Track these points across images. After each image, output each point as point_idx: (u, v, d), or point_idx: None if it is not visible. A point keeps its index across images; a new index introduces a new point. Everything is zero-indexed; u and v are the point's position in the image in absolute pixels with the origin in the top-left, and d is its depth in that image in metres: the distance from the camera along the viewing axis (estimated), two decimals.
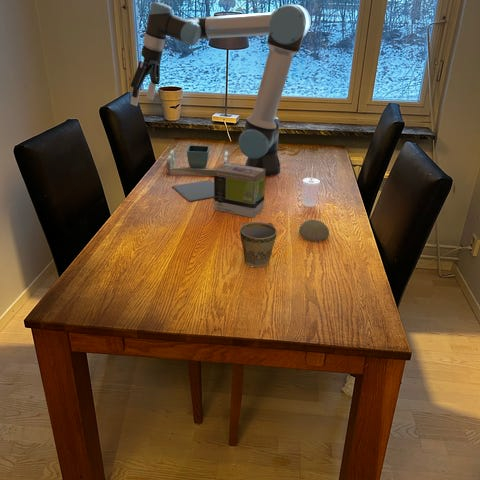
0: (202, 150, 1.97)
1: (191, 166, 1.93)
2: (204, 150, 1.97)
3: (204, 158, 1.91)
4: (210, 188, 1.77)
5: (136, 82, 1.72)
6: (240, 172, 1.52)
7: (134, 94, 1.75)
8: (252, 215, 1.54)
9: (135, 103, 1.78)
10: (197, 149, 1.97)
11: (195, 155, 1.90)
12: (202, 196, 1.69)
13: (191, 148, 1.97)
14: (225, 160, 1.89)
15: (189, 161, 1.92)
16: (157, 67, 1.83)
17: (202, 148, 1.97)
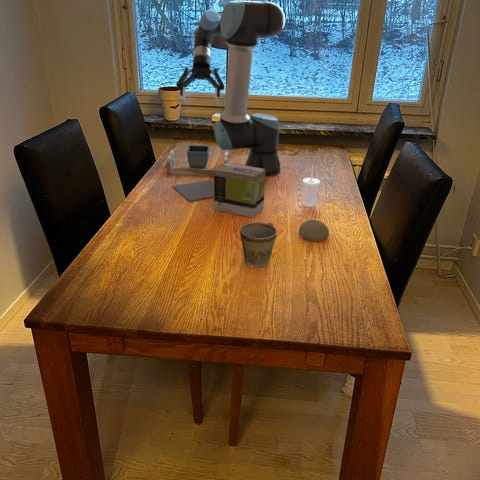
0: (202, 150, 1.97)
1: (191, 166, 1.93)
2: (204, 150, 1.97)
3: (204, 158, 1.91)
4: (210, 188, 1.77)
5: None
6: (240, 172, 1.52)
7: (180, 92, 1.95)
8: (252, 215, 1.54)
9: (182, 99, 1.94)
10: (197, 149, 1.97)
11: (195, 155, 1.90)
12: (202, 196, 1.69)
13: (191, 148, 1.97)
14: (225, 160, 1.89)
15: (189, 161, 1.92)
16: (215, 74, 1.98)
17: (202, 148, 1.97)
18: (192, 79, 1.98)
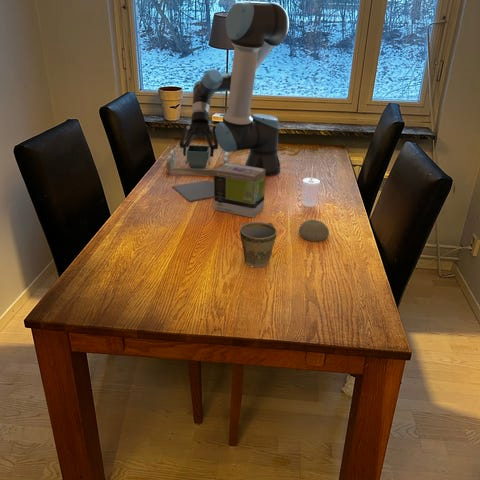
0: (202, 150, 1.97)
1: (191, 166, 1.93)
2: (204, 150, 1.97)
3: (204, 158, 1.91)
4: (210, 188, 1.77)
5: None
6: (240, 172, 1.52)
7: (183, 152, 1.94)
8: (252, 215, 1.54)
9: (185, 159, 1.92)
10: (197, 149, 1.97)
11: (195, 155, 1.90)
12: (202, 196, 1.69)
13: (191, 148, 1.97)
14: (225, 160, 1.89)
15: (189, 161, 1.92)
16: (212, 132, 1.96)
17: (202, 148, 1.97)
18: (193, 136, 1.96)
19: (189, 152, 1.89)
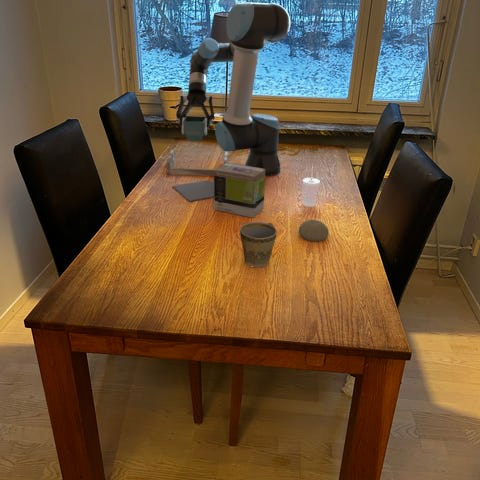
0: (199, 121, 1.98)
1: (188, 137, 1.94)
2: (201, 121, 1.98)
3: (200, 128, 1.91)
4: (210, 188, 1.77)
5: None
6: (240, 172, 1.52)
7: None
8: (252, 215, 1.54)
9: None
10: (194, 120, 1.98)
11: (191, 125, 1.91)
12: (202, 196, 1.69)
13: (188, 119, 1.98)
14: (225, 160, 1.89)
15: (185, 131, 1.92)
16: (209, 102, 1.96)
17: (199, 119, 1.97)
18: (189, 107, 1.97)
19: (185, 122, 1.90)
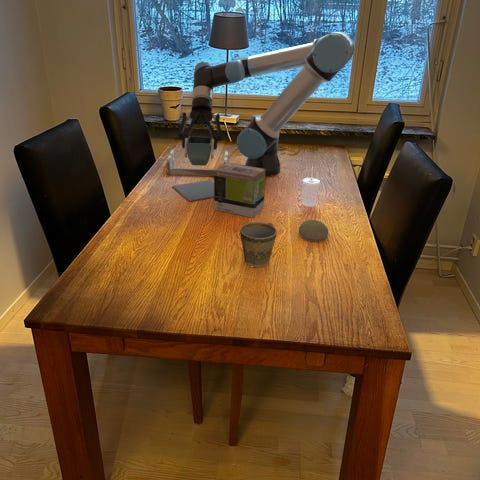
0: (204, 142, 1.70)
1: (191, 160, 1.66)
2: (207, 142, 1.70)
3: (206, 151, 1.64)
4: (210, 188, 1.77)
5: None
6: (240, 172, 1.52)
7: (182, 144, 1.67)
8: (252, 215, 1.54)
9: None
10: (198, 140, 1.70)
11: (196, 148, 1.63)
12: (202, 196, 1.69)
13: (191, 139, 1.70)
14: (225, 160, 1.89)
15: (189, 154, 1.65)
16: None
17: (204, 140, 1.70)
18: (193, 126, 1.69)
19: (189, 144, 1.63)
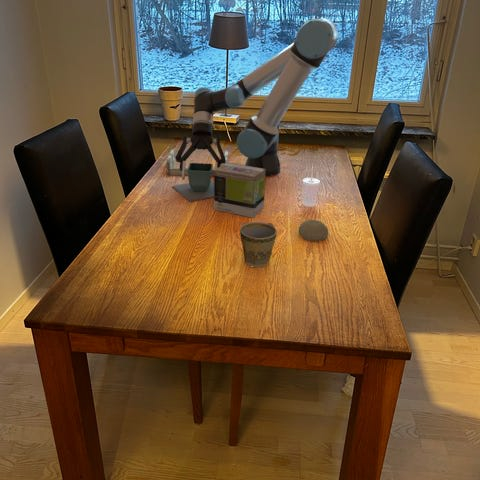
0: (204, 168, 1.75)
1: (192, 187, 1.71)
2: (207, 168, 1.75)
3: (207, 178, 1.69)
4: (210, 188, 1.77)
5: None
6: (240, 172, 1.52)
7: None
8: (252, 215, 1.54)
9: (182, 175, 1.70)
10: (199, 167, 1.75)
11: (197, 175, 1.68)
12: (202, 196, 1.69)
13: (192, 166, 1.75)
14: None
15: (190, 181, 1.70)
16: (217, 145, 1.73)
17: (204, 166, 1.75)
18: (192, 150, 1.73)
19: (190, 171, 1.67)
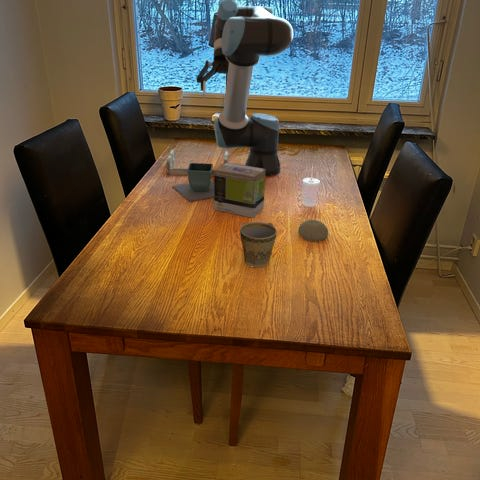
0: (204, 168, 1.75)
1: (192, 187, 1.71)
2: (207, 168, 1.75)
3: (207, 178, 1.69)
4: (210, 188, 1.77)
5: None
6: (240, 172, 1.52)
7: None
8: (252, 215, 1.54)
9: (203, 93, 1.84)
10: (199, 167, 1.75)
11: (197, 175, 1.68)
12: (202, 196, 1.69)
13: (192, 166, 1.75)
14: (225, 160, 1.89)
15: (190, 181, 1.70)
16: None
17: (204, 166, 1.75)
18: (213, 73, 1.88)
19: (190, 171, 1.67)
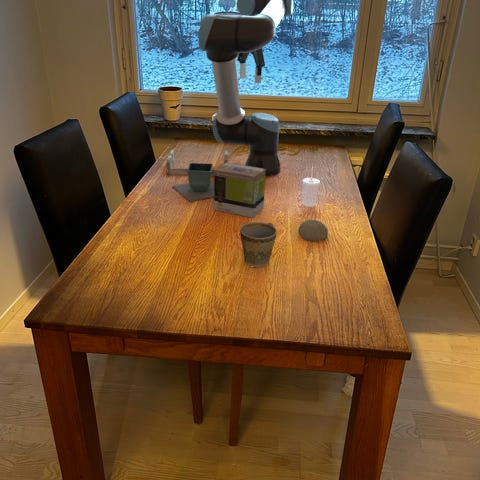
0: (204, 168, 1.75)
1: (192, 187, 1.71)
2: (207, 168, 1.75)
3: (207, 178, 1.69)
4: (210, 188, 1.77)
5: None
6: (240, 172, 1.52)
7: None
8: (252, 215, 1.54)
9: None
10: (199, 167, 1.75)
11: (197, 175, 1.68)
12: (202, 196, 1.69)
13: (192, 166, 1.75)
14: (225, 160, 1.89)
15: (190, 181, 1.70)
16: None
17: (204, 166, 1.75)
18: (247, 53, 2.08)
19: (190, 171, 1.67)
